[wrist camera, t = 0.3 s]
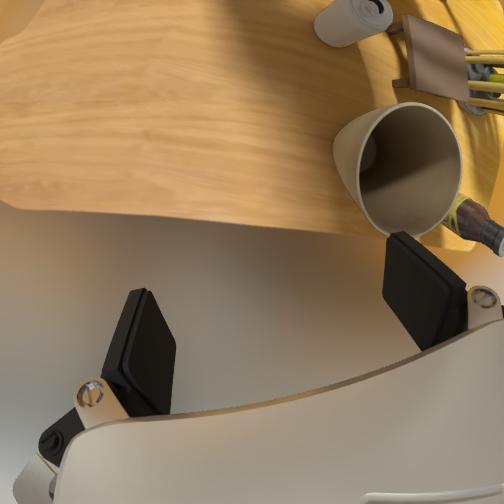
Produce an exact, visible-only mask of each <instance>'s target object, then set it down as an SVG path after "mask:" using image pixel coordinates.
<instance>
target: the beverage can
mask: <svg viewBox="0 0 504 504" xmlns="http://www.w3.org/2000/svg"><path fill="white" fill-rule="evenodd" d="M392 20H393V11H392V8H391V6H390V4H389V3H388V1H387V0H334V1H333V2H332V3H331V4H330V5H328V6H327V7H326V8H325V9H324V10H323V11H321V12H320V13H319V14H318V15H317V16H316V18H315V20H314V30H315V32H316V34H317V36H318V37H319V38H320V39H321V40H322V41H323V42H324V43H326V44H328V45H330V46H333V47H346V46H348V45H351V44H353V43H355V42H358V41H360V40H363V39H365V38H368V37H370V36H373V35H376V34H378V33H381V32H383V31H385V30H386V29H387V28H388V26H389V25H390V24H391V23H392Z"/></svg>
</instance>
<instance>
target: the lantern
mask: <svg viewBox="0 0 504 504" xmlns="http://www.w3.org/2000/svg"><path fill="white" fill-rule="evenodd" d="M464 50H465V57H466V66H467V75H468V89H469V103H464V102H460V101H457V102H458V103H459V104H460V106H461V107H462V108H463V109H464V110H465V111H467V112H468V113H469V114H474V115H479V116H481V115H484V114H486V113H487V112H488V113H493V114H498V115H502V116H504V99H497V98H499V97H500V96H501V93H502V94H504V74H498V73H497V71H496V70H495V69H494V68H492V67H496V68H504V56H480V55H479V54H498V55H504V50H473V49H470V48H468V47H464Z"/></svg>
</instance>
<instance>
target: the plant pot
mask: <svg viewBox="0 0 504 504" xmlns="http://www.w3.org/2000/svg"><path fill="white" fill-rule="evenodd" d="M332 151H333V158H334V162H335V165H336V168H337V171H338V173H339V175H340V178H341V180H342V182H343V183H344V185H345V187H346V189H347V191H348V192H349V194H350V195H351V197H352V199H353V200H354V201H355V203H356V204H357V206H358V207H359V208H360V210H361V211H362V212H363V214H364V215H365V216H366V218H367V219H368V220H369V222H370V223H371V224H372V225H373V226H374V227H375V228H376V229H377V230H378V231H380V232H381V233H382V234H384V235H386V236H388V237H389V236H390V234H391V233H395V232H399V231H405V232H406V233H408V234H409V235H410V236H412V237H413V238H416V237H419V236H422V235H424V234H426V233H428V232H429V231H431V230H432V229H434V228H435V227H436V226H437V225H438V224H439V223H440V222H441V221H442V220H443V219H444V218H445V217H446V215H447V214H448V213H449V211H450V210H451V208H452V206H453V204H454V202H455V200H456V197H457V195H458V192H459V188H460V184H461V178H462V154H461V148H460V144H459V141H458V138H457V136H456V134H455V132H454V130H453V128H452V126H451V125H450V123H449V122H448V121H447V119H446V118H445V117H444V116H443V115H442V114H441V113H440V112H438V111H437V110H436V109H434V108H432V107H430V106H428V105H426V104H422V103H417V102H406V103H401V104H396V105H391V106H386V107H382V108H379V109H375V110H372V111H370V112H367V113H365V114H363V115H361V116H359V117H357V118H355V119H354V120H352V121H351V122H349V123H348V124H347V125H345V126H344V127H343V128H342V129H341V130H340V131H339V133H338V134H337V135H336V137H335V139H334V142H333V147H332ZM360 164H361V166H360Z"/></svg>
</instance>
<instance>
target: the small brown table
mask: <svg viewBox="0 0 504 504" xmlns="http://www.w3.org/2000/svg"><path fill="white" fill-rule="evenodd" d="M401 17H402V21H401V22H398V23H395V24H392V25H390V26H388V28H387V29H386V31H387V33H388V34H392V35H393V34H397V33H400V32H403V31H404V34H405V41H406V48H407V56H408V66H409V77H410V79H397V80H392V86H393V87H396V88H410V90H415V91H420V92H425V93H429V94H433V95H435V96H440V97H445V98H449V99H453V100H456V101H460V102H464V103H469V89H468V75H467V66H466V57H465V50H464V44H463V38H462V36H461V35H459V34H457V33H455V32H453V31H450V30H448V29H446V28H444V27H441V26H439V25H436V24H434V23H432V22H429V21H426V20H424V19H421V18H418V17H416V16H413V15H410V14H405V15H402V16H401Z"/></svg>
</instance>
